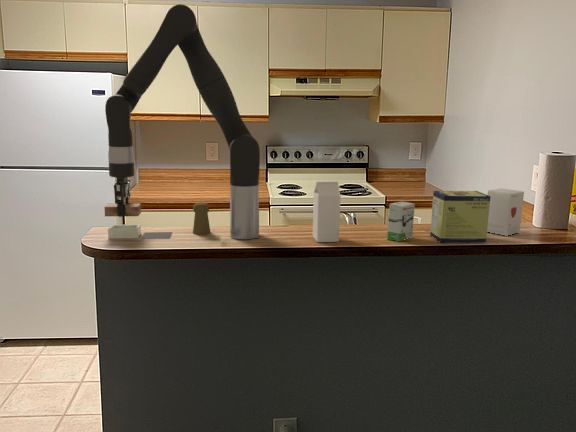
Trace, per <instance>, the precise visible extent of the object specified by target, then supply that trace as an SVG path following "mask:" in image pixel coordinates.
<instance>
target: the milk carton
mask: <svg viewBox="0 0 576 432" xmlns="http://www.w3.org/2000/svg"><path fill="white" fill-rule="evenodd" d="M315 183H316V184H315V186H314V187H315V188H314V191H313V205H312V206H313V207H312V208H313V211H312V213H313V214H312V237H313V239H314V240H315V241H316V243H339V242H340V222H341V219H340V218H341V197H342V196H341V192H340V187H339V181H316V182H315Z"/></svg>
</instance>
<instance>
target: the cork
mask: <svg viewBox="0 0 576 432" xmlns="http://www.w3.org/2000/svg"><path fill="white" fill-rule="evenodd" d="M192 210H193V213H194V218H193V219H194V220H193V227H192V234H193V235H197V236H205V235H210V234H211V227H210V220H209V211H210V206H209V204H208V203H207V202H202V201H201V202H196V203H194V204H193V207H192Z"/></svg>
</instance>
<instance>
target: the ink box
mask: <svg viewBox="0 0 576 432" xmlns="http://www.w3.org/2000/svg"><path fill="white" fill-rule="evenodd" d="M415 205H416V204H415V203H412V202H408V201H403V200H402V201H398V202H393V203H390V204H389V205H388V207H389V208H388V220H387V221H388V223H387V224H388V225H387V236H386V237H387V240H388V239H389V241H393V240H395V241H394V242H399V241H401V242H403V241H402V240H404V239H407V238H410V237H412V238H413V229H414V217H415ZM410 239H411V238H410ZM407 240H408V239H407ZM404 241H405V240H404Z"/></svg>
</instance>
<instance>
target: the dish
mask: <svg viewBox="0 0 576 432" xmlns="http://www.w3.org/2000/svg"><path fill="white" fill-rule="evenodd" d="M141 227H142V226H141V224H111V225H110V226H109V227H108V228H107V235H108V236H107V237H108V238H107V239H139V237H140V236H141V234H142V229H141Z"/></svg>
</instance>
